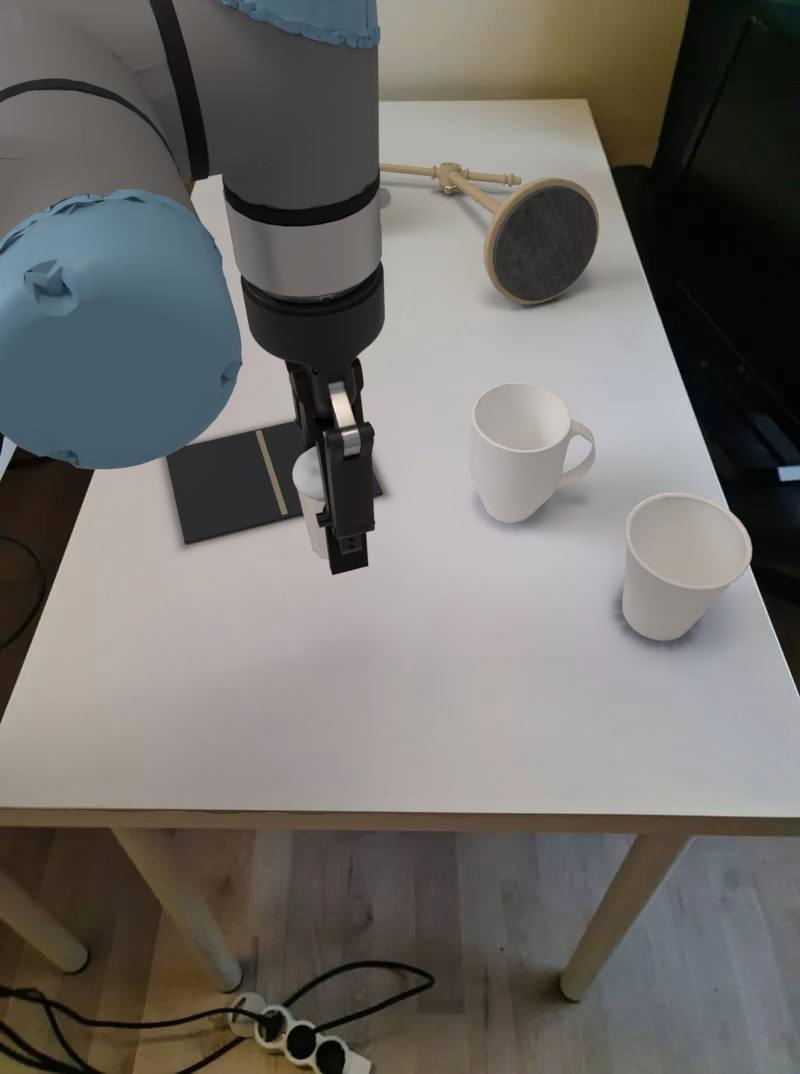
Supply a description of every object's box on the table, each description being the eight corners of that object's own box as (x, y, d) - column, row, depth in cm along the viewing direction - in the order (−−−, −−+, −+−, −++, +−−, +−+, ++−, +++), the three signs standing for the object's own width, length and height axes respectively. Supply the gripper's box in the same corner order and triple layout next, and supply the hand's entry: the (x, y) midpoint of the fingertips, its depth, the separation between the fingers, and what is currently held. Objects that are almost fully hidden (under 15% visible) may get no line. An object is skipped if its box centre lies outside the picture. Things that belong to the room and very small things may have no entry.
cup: (603, 561, 78) (627, 483, 70) (711, 578, 77) (749, 501, 68) (597, 650, 72) (622, 577, 64) (714, 671, 71) (756, 598, 62)
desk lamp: (626, 176, 96) (479, 96, 124) (339, 196, 85) (250, 103, 114) (599, 298, 105) (469, 198, 134) (339, 330, 95) (257, 214, 123)
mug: (469, 539, 80) (477, 452, 71) (460, 472, 86) (467, 383, 76) (589, 534, 80) (613, 447, 71) (573, 468, 86) (593, 378, 77)
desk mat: (185, 544, 80) (184, 541, 80) (165, 453, 88) (164, 450, 87) (382, 494, 84) (382, 491, 83) (347, 411, 92) (346, 408, 91)
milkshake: (367, 575, 60) (363, 486, 52) (295, 562, 60) (280, 473, 52) (380, 526, 62) (379, 434, 54) (311, 514, 63) (300, 422, 55)
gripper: (433, 349, 39) (425, 622, 57) (338, 171, 49) (358, 451, 67) (275, 383, 37) (319, 651, 56) (212, 192, 48) (267, 472, 66)
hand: (340, 541), depth 61 cm, fingers closed on milkshake, 4 cm apart
